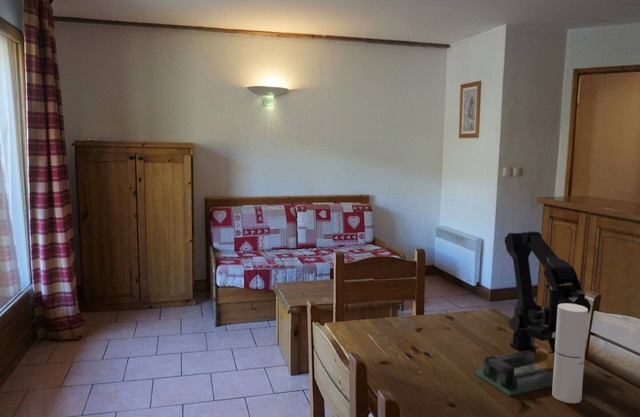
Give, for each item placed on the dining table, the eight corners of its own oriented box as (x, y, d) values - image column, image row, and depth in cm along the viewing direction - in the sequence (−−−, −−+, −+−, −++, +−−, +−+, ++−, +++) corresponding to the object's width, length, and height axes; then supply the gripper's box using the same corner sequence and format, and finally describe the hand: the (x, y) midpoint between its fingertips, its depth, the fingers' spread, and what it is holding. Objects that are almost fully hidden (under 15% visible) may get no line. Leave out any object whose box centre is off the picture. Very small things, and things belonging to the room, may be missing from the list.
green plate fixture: (530, 362, 154) (531, 343, 153) (568, 381, 141) (569, 361, 140) (474, 374, 146) (475, 354, 145) (509, 395, 133) (510, 374, 132)
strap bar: (540, 364, 149) (541, 347, 148) (552, 370, 145) (553, 353, 144) (505, 372, 144) (506, 354, 143) (516, 378, 140) (517, 360, 139)
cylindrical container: (546, 390, 136) (552, 303, 133) (571, 389, 136) (577, 303, 133) (561, 403, 129) (567, 312, 126) (587, 402, 129) (593, 311, 126)
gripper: (558, 295, 157) (555, 342, 159) (514, 302, 150) (511, 350, 152) (589, 305, 147) (586, 355, 149) (543, 313, 140) (540, 365, 141)
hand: (555, 356), depth 148 cm, fingers closed
